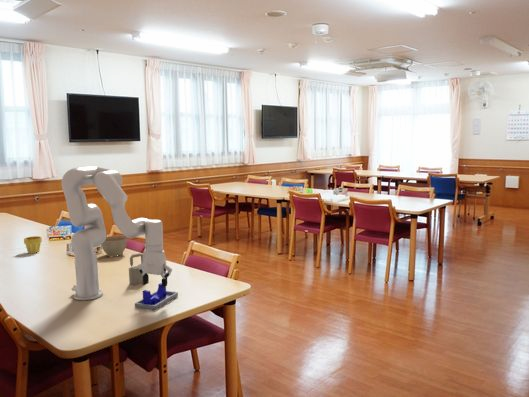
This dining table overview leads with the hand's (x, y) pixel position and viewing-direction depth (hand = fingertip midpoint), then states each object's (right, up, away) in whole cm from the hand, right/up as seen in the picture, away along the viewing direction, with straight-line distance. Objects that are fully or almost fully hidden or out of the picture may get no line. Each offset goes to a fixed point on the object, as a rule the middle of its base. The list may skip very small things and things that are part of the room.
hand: (155, 285), depth 199 cm
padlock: (-15, -4, +28) cm, 33 cm away
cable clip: (0, -7, +1) cm, 7 cm away
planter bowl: (-46, +3, +85) cm, 96 cm away
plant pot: (-103, +3, +94) cm, 139 cm away
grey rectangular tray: (+1, -8, +1) cm, 8 cm away
